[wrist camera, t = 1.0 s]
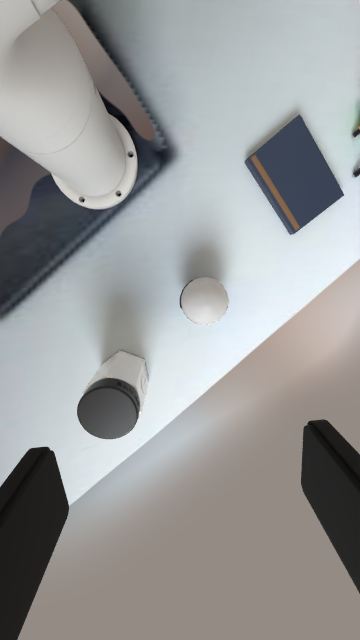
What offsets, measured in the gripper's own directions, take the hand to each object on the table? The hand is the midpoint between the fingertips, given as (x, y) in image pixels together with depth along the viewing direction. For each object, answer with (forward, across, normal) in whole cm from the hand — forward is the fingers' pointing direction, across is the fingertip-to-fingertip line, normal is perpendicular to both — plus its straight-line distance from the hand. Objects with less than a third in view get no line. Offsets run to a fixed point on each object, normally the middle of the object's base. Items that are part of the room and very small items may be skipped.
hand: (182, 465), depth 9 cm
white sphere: (+33, -4, 0) cm, 33 cm away
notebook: (+33, -20, -17) cm, 42 cm away
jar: (+33, +10, +12) cm, 36 cm away
